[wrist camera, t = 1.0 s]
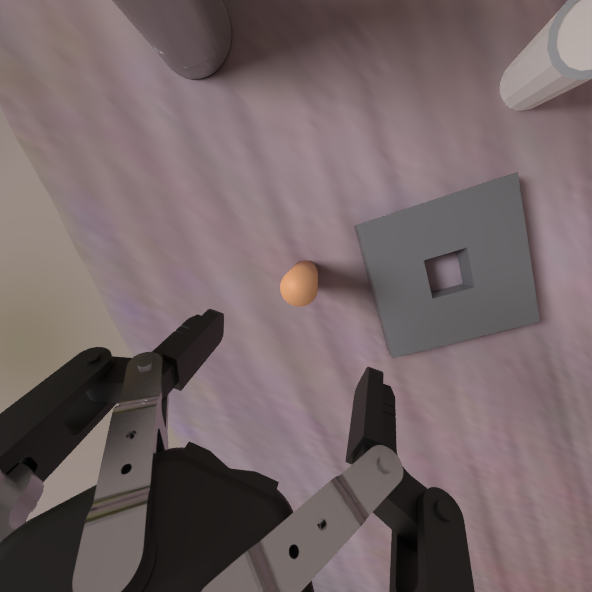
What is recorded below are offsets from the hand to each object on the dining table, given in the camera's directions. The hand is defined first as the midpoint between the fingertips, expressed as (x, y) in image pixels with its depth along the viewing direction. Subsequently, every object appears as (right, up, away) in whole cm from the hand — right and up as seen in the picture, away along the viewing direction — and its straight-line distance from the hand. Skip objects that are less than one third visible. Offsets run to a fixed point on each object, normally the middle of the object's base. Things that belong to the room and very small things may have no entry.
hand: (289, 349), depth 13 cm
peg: (+2, +6, +21) cm, 22 cm away
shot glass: (+26, +27, +15) cm, 40 cm away
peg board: (+19, +6, +20) cm, 28 cm away
